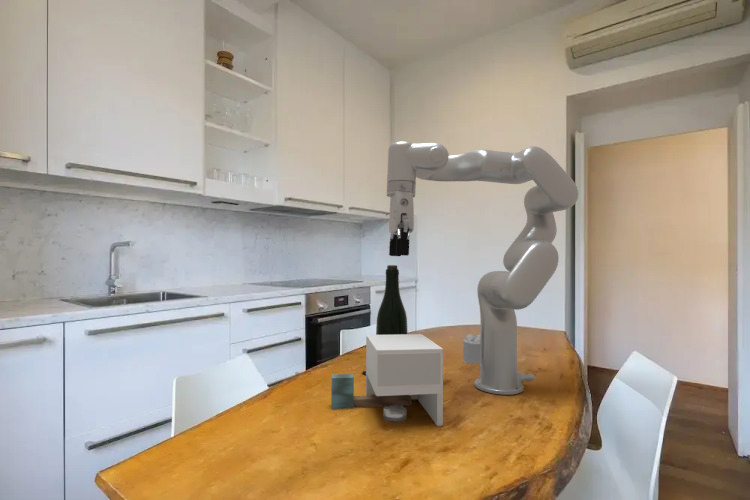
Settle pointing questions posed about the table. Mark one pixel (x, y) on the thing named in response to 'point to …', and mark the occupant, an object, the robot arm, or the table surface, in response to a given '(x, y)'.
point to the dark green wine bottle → (391, 307)
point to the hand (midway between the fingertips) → (398, 255)
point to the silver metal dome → (395, 413)
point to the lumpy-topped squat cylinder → (471, 349)
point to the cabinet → (406, 370)
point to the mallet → (345, 396)
